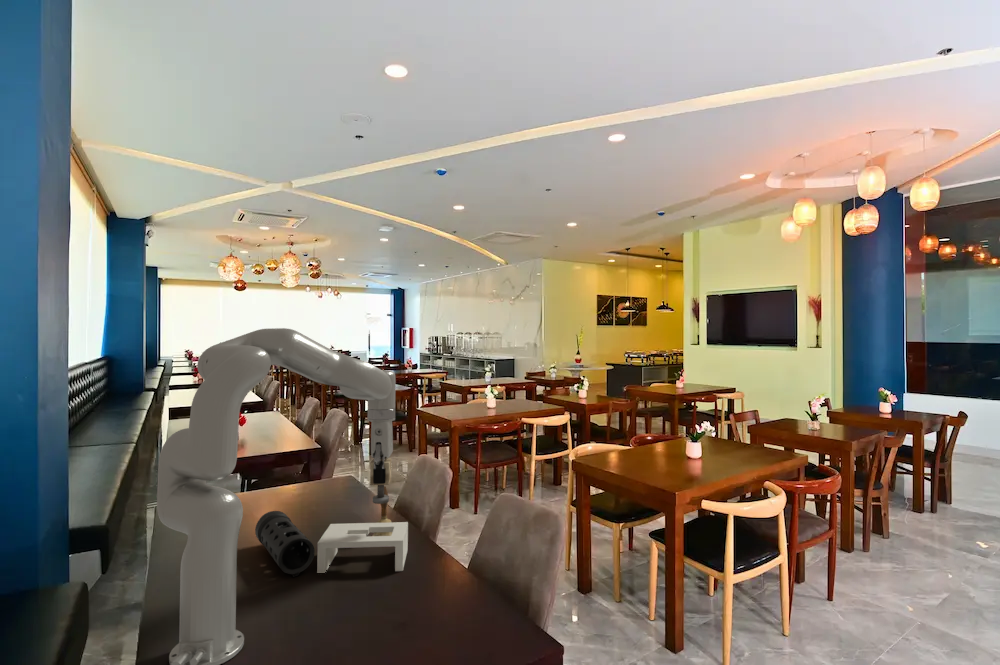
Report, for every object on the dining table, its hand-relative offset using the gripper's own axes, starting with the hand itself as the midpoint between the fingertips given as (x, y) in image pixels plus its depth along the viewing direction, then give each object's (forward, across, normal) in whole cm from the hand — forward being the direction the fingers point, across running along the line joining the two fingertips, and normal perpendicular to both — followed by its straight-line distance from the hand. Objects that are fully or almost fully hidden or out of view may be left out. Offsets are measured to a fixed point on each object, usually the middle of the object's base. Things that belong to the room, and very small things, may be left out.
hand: (380, 479), depth 142 cm
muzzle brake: (+23, +3, +27) cm, 35 cm away
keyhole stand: (+22, 0, +4) cm, 23 cm away
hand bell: (+23, +16, +1) cm, 28 cm away
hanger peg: (+6, 0, 0) cm, 6 cm away
